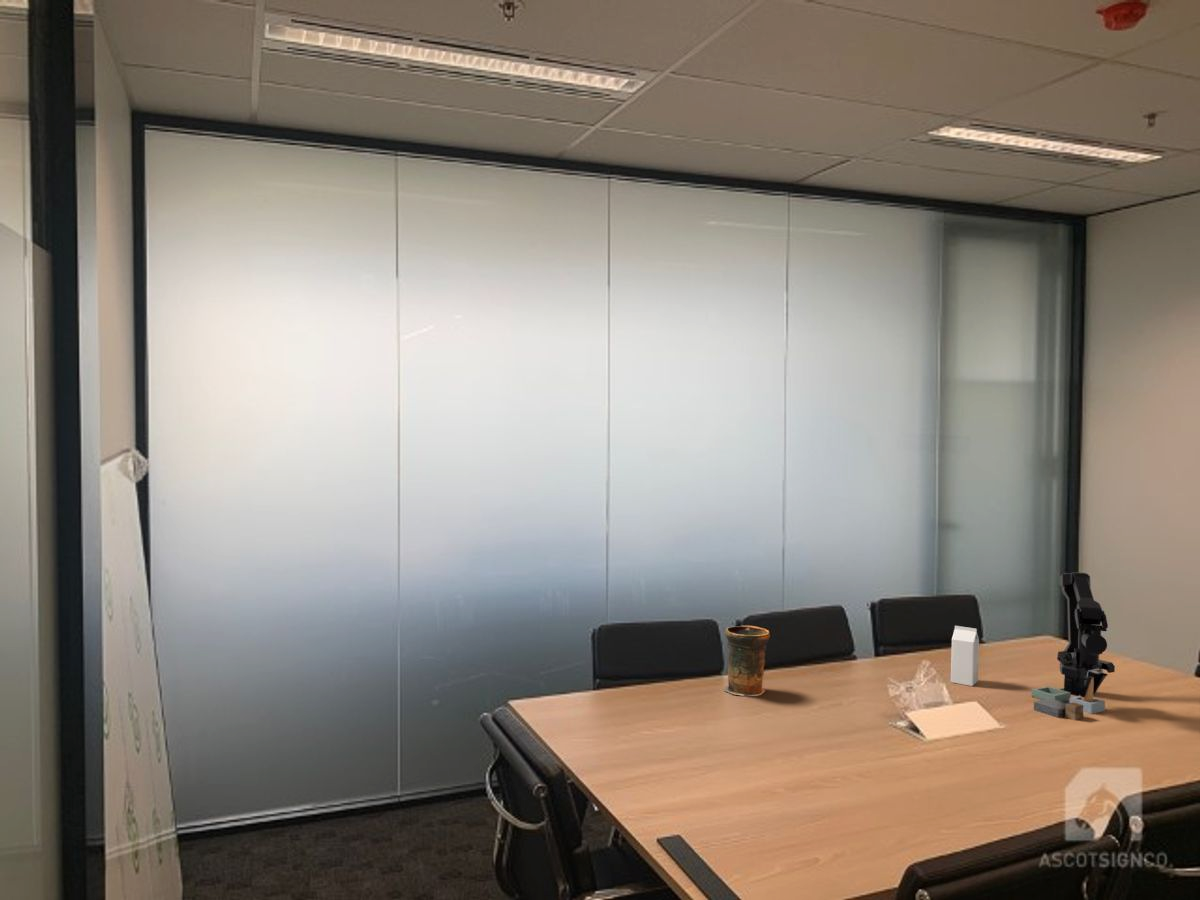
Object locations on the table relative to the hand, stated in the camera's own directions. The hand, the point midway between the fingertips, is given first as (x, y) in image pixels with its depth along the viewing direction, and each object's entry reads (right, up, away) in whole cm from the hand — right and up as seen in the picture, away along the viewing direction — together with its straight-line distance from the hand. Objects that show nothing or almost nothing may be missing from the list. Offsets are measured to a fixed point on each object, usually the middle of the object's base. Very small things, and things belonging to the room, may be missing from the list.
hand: (1087, 696), depth 270 cm
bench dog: (-9, -4, -9) cm, 13 cm away
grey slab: (-12, -4, -4) cm, 14 cm away
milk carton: (-27, -3, +28) cm, 39 cm away
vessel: (-104, -2, +13) cm, 105 cm away
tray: (-6, -4, +11) cm, 13 cm away
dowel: (0, -4, 0) cm, 4 cm away
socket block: (0, -4, 0) cm, 4 cm away
